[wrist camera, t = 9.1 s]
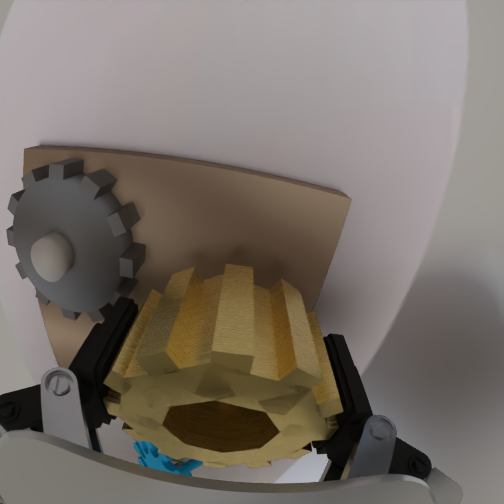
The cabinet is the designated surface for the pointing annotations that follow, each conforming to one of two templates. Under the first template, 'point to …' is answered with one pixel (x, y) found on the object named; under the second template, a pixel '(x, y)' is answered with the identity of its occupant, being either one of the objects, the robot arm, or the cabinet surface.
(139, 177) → the gear board
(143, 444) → the gear
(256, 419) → the brass gear
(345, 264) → the cabinet surface
